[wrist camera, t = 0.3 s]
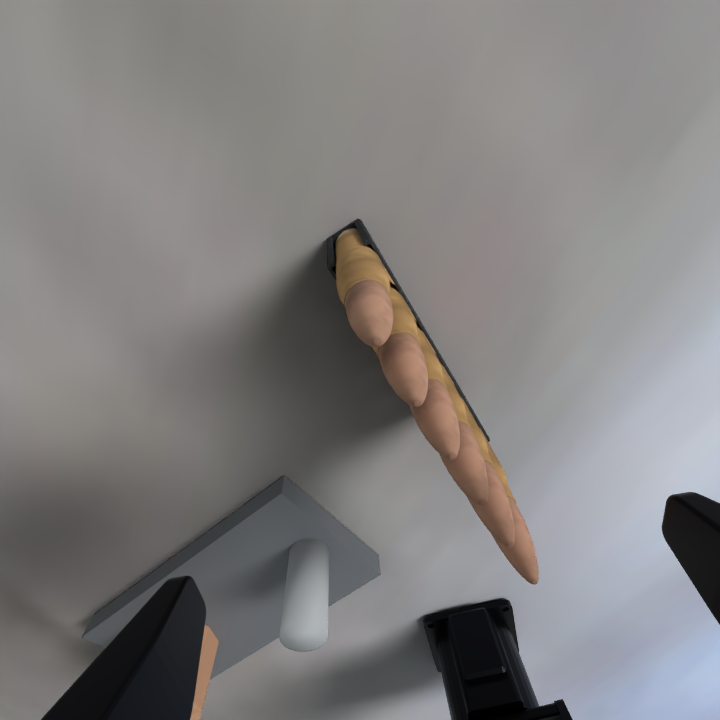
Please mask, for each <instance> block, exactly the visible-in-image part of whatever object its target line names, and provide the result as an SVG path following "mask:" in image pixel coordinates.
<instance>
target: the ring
mask: <svg viewBox="0 0 720 720" xmlns="http://www.w3.org/2000/svg"><path fill="white" fill-rule="evenodd" d="M218 643H219V641H218V640H217V638H216V637H215V635H214V634H213V632H212V631H211V629H210V628H209V627H208V626H206V625H205V628H204V635H203V642H202V648H201V655H200V662H199V669H198V676H197V683H196V690H195V697H194V703H193V709H192V714H191V718H190V720H200V717H201V713H202V709H203V705H204V701H205V697H206V693H207V689H208V685H209V681H210V677H211V672H212V668H213V664H214V660H215V656H216V652H217V647H218Z"/></svg>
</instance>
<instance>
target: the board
mask: <svg viewBox="0 0 720 720" xmlns="http://www.w3.org/2000/svg"><path fill="white" fill-rule="evenodd" d="M186 575H188V576H191V577H192V578H193V579H194V581H195V583H196V585H197V587H198V589H199V591H200V593H201V595H202V597H203V599H204V602H205V605H206V621H205V625H206V626H208V627H209V628H210V629H211V631H212V632H213V634H214V635H215V637H216V638H217V640H218V641H219V643H218V647H217V652H216V656H215V660H214V664H213V668H212V672H211V677H210V679H212V678H213V677H215V676H217V675H218V674H220V673H221V672H223V671H225V670H226V669H228V668H230V667H231V666H233V665H234V664H236V663H238V662H239V661H241V660H243V659H244V658H246V657H247V656H249V655H251V654H252V653H254V652H256V651H257V650H259V649H260V648H262V647H264V646H265V645H267V644H269V643H270V642H272V641H273V640H275V639H277V638H278V637H280V641H281V643H282V644H283V645H284V646H285V647H286V648H288V649H291V650H294V651H299V652H307V651H312V650H315V649H318V648H320V647H321V646H323V645H324V644H325V643H326V641H327V639H328V607H329V606H330V605H332V604H334V603H335V602H337V601H338V600H340V599H342V598H343V597H345V596H347V595H348V594H350V593H351V592H353V591H355V590H356V589H358V588H360V587H361V586H363V585H364V584H366V583H368V582H369V581H371V580H373V579H374V578H376V577H377V576H379V575H381V573H380V564H379V556H378V554H377V553H376V552H375V551H373V550H372V549H371V548H370V547H369V546H367V545H366V544H365V543H364V542H363V541H362V540H360V539H359V538H358V537H357V536H356V535H354V534H353V533H352V532H351V531H350V530H349V529H347V528H346V527H345V526H344V525H343V524H341V523H340V522H339V521H338V520H337V519H336V518H334V517H333V516H332V515H331V514H330V513H328V512H327V511H326V510H325V509H324V508H323V507H321V506H320V505H319V504H318V503H317V502H315V501H314V500H313V499H312V498H311V497H310V496H308V495H307V494H306V493H305V492H304V491H302V490H301V489H300V488H299V487H298V486H296V485H295V484H294V483H293V482H292V481H291V480H289V479H288V478H287V477H286V476H285V475H284V476H283V477H281V478H280V479H279V480H277V481H276V482H275V483H273V484H272V485H270V486H269V487H268V488H266V489H265V490H264V491H262V492H261V493H260V494H258V495H257V496H255V497H254V498H253V499H251V500H250V501H249V502H247V503H246V504H245V505H243V506H242V507H240V508H239V509H238V510H236V511H235V512H234V513H232V514H231V515H230V516H228V517H227V518H225V519H224V520H223V521H221V522H220V523H219V524H217V525H216V526H215V527H213V528H212V529H210V530H209V531H208V532H206V533H205V534H204V535H202V536H201V537H199V538H198V539H197V540H195V541H194V542H193V543H191V544H190V545H189V546H187V547H186V548H184V549H183V550H182V551H180V552H179V553H178V554H176V555H175V556H174V557H172V558H171V559H169V560H168V561H167V562H165V563H164V564H163V565H161V566H160V567H159V568H157V569H156V570H154V571H153V572H152V573H150V574H149V575H148V576H146V577H145V578H144V579H142V580H141V581H139V582H138V583H137V584H135V585H134V586H133V587H131V588H130V589H129V590H127V591H126V592H124V593H123V594H122V595H120V596H119V597H118V598H116V599H115V600H114V601H112V602H111V603H109V604H108V605H107V606H105V607H104V608H103V609H101V610H100V611H98V612H97V613H96V614H94V616H93V618H92V619H91V621H90V623H89V625H88V627H87V629H86V630H85V632H84V634H83V636H82V637H83V638H85V639H87V640H89V641H91V642H92V643H94V644H96V645H98V646H100V647H102V648H104V649H105V648H106V647H107V646H108V645H109V644H110V642H111V641H112V640H113V639H114V638H115V637H116V636H117V635H118V634H119V632H120V631H121V630H122V629H123V628H124V627H125V626H126V625H127V624H128V622H129V621H130V620H131V619H132V618H133V617H134V616H135V615H136V614H137V612H138V611H139V610H140V609H141V608H142V607H143V606H144V605H145V604H146V602H147V601H148V600H149V599H150V598H151V597H152V596H153V595H154V594H155V592H156V591H157V590H158V589H159V588H160V587H161V586H162V585H163V584H164V583H165V582H166V581H167V580H168V579H170V578H174V577H180V576H186Z"/></svg>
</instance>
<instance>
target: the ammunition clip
mask: <svg viewBox="0 0 720 720" xmlns="http://www.w3.org/2000/svg"><path fill="white" fill-rule="evenodd" d="M327 267H328V270H329V271H330V273H331V274H332V276H333V277H334V279H335V280H336V285H337V291H338V295H339V298H340V300H341V301H342V303H343V304H344V306H345V310H346V313H347V317H348V321H349V323H350V325H351V328H352V329H353V331H354V332H355V333H356V335H357V336H358V337H359V339H361V340H362V341H363V342H364V343H366V344H367V345H369V346H372V348H373V349H374V351H375V352H376V354H377V357H378V360H379V361H380V363H381V367H382V370H383V373H384V375H385V377H386V379H387V381H388V383H389V384H390V386H391V387H392V388H393V390H394V391H395V393H396V394H397V395H398V396H399V397H400V398H401V399H402V400H403V401H405V402H406V403H407V404H408V405H409V406H410V408H411V411H412V414H413V417H414V419H415V421H416V423H417V425H418V426H419V428H420V430H421V432H422V433H423V435H424V436H425V438H426V439H427V440H428V442H429V443H430V444H431V445H432V446H433V447H434V449H435V450H436V451H437V452H439V454H440V456H441V459H442V461H443V463H444V464H445V466H446V468H447V470H448V472H449V473H450V475H451V476H452V478H453V479H454V481H455V482H456V483H457V485H458V486H459V487H460V489H461V490H462V491H463V492H464V493H465V494H466V496H467V498H468V500H469V501H470V503H471V505H472V507H473V508H474V510H475V512H476V513H477V515H478V516H479V518H480V519H481V521H482V522H483V523H484V525H485V526H486V527H487V529H488V530H489V531H490V532H491V534H492V536H493V537H494V539H495V541H496V543H497V544H498V546H499V548H500V549H501V551H502V552H503V553H504V555H505V556H506V558H507V559H508V561H509V562H510V563H511V564H512V566H513V567H514V568H515V569H516V571H517V572H518V573H519V574H520V575H521V576H522V577H523V578H525V579H526V580H527V581H528V582H530V583H531V584H537V582H538V563H537V558H536V553H535V549H534V545H533V542H532V539H531V536H530V533H529V531H528V528H527V526H526V523H525V521H524V519H523V517H522V515H521V513H520V511H519V509H518V507H517V505H516V501H515V499H514V497H513V495H512V493H511V491H510V489H509V487H508V483H507V479H506V475H505V472H504V470H503V468H502V466H501V464H500V462H499V461H498V459H497V457H496V455H495V454H494V452H493V450H492V448H491V446H490V445H489V443H488V442H489V441H490V439H489V437H488V435H487V434H486V432H485V430H484V428H483V427H482V425H481V423H480V422H479V420H478V418H477V416H476V415H475V413H474V411H473V409H472V408H471V406H470V404H469V403H468V401H467V399H466V397H465V396H464V394H463V392H462V391H461V389H460V387H459V385H458V384H457V382H456V380H455V379H454V377H453V375H452V374H451V372H450V370H449V368H448V367H447V365H446V363H445V362H444V360H443V358H442V357H441V355H440V353H439V351H438V350H437V348H436V346H435V345H434V343H433V341H432V340H431V338H430V336H429V334H428V333H427V331H426V329H425V328H424V326H423V324H422V323H421V321H420V319H419V317H418V316H417V314H416V312H415V311H414V309H413V307H412V306H411V304H410V302H409V300H408V299H407V297H406V295H405V294H404V292H403V290H402V289H401V287H400V285H399V283H398V282H397V280H396V278H395V277H394V275H393V273H392V272H391V270H390V268H389V266H388V265H387V263H386V261H385V260H384V258H383V256H382V255H381V253H380V251H379V249H378V248H377V246H376V244H375V243H374V241H373V239H372V238H371V236H370V234H369V232H368V231H367V229H366V227H365V226H364V224H363V222H362V221H361V220H360V219H356V220H355V221H353V222H352V223H350V224H349V225H347V226H346V227H344V228H343V229H341V230H340V231H338V232H337V233H335V234H334V235H332V236H331V237H329V238H328V239H327Z"/></svg>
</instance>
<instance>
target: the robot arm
mask: <svg viewBox="0 0 720 720" xmlns="http://www.w3.org/2000/svg"><path fill="white" fill-rule="evenodd" d="M662 532H663V535H664V538H665V540H666V542H667V544H668V545H669V547H670V548H671V550H672V551H673V553H674V554H675V556H676V558H677V559H678V561H679V562H680V564H681V565H682V567H683V569H684V570H685V572H686V573H687V575H688V576H689V578H690V580H691V581H692V583H693V584H694V586H695V587H696V589H697V591H698V592H699V594H700V595H701V597H702V598H703V600H704V601H705V603H706V605H707V606H708V608H709V609H710V611H711V612H712V614H713V615H714V617H715V618H716V620H717V621H718V623H719V624H720V503H718V502H716V501H713V500H711V499H709V498H707V497H704V496H702V495H700V494H697V493H694V492H686V493H680V494H674V495H671V496H669V497H668V499H667V501H666V506H665V512H664V518H663V523H662ZM205 621H206V605H205V602H204V599H203V597H202V595H201V593H200V591H199V589H198V587H197V585H196V583H195V581H194V579H193V578H192V577H191V576H188V575H186V576H180V577H174V578H170V579H168V580H167V581H166V582H165V583H164V584H163V585H162V586H161V587H160V588H159V589H158V590H157V591H156V592H155V594H154V595H153V596H152V597H151V598H150V599H149V600H148V601H147V602H146V604H145V605H144V606H143V607H142V608H141V609H140V610H139V611H138V612H137V614H136V615H135V616H134V617H133V618H132V619H131V620H130V621H129V622H128V624H127V625H126V626H125V627H124V628H123V629H122V630H121V631H120V632H119V634H118V635H117V636H116V637H115V638H114V639H113V640H112V641H111V642H110V644H109V645H108V646H107V647H106V648H105V649H104V650H103V651H102V652H101V654H100V655H99V656H98V657H97V658H96V659H95V660H94V661H93V662H92V663H91V665H90V666H89V667H88V668H87V669H86V670H85V671H84V672H83V673H82V675H81V676H80V677H79V678H78V679H77V680H76V681H75V682H74V683H73V685H72V686H71V687H70V688H69V689H68V690H67V691H66V692H65V693H64V695H63V696H62V697H61V698H60V699H59V700H58V701H57V702H56V703H55V705H54V706H53V707H52V708H51V709H50V710H49V711H48V712H47V713H46V715H45V716H44V717H43V718H42V719H41V720H190V718H191V714H192V709H193V703H194V697H195V690H196V683H197V676H198V669H199V662H200V655H201V648H202V642H203V635H204V628H205ZM423 623H424V628H425V631H426V634H427V638H428V641H429V644H430V648H431V651H432V654H433V657H434V661H435V664H436V667H437V670H438V671H439V672H441V673H442V678H443V682H444V687H445V692H446V696H447V701H448V706H449V710H450V715H451V720H572V718H571V716H570V713H569V711H568V709H567V707H566V705H565V703H564V701H563V699H561V700H557V701H554V703H552V704H548V705H544V706H539V704H538V702H537V699H536V696H535V694H534V691H533V689H532V686H531V683H530V681H529V678H528V676H527V673H526V670H525V668H524V665H523V663H522V660H521V657H520V655H519V648H518V642H517V635H516V629H515V622H514V616H513V609H512V606H511V604H510V601H508V600H499V601H495V602H490V603H486V604H481V605H477V606H472V607H468V608H463V609H459V610H454V611H450V612H445V613H441V614H436V615H432V616H428V617H426V618H424V620H423Z"/></svg>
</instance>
